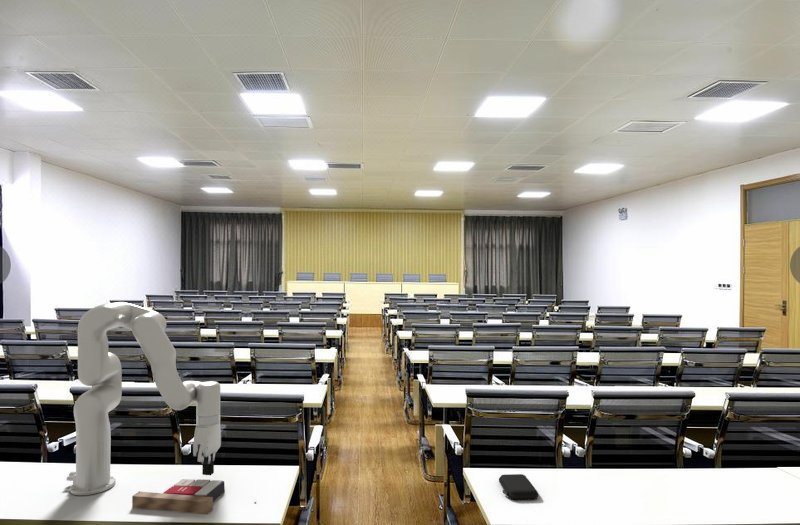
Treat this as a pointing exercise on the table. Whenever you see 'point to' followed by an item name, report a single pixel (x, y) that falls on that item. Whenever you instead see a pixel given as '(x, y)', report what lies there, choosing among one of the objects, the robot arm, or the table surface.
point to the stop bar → (172, 502)
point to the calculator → (198, 488)
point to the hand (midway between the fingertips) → (208, 474)
